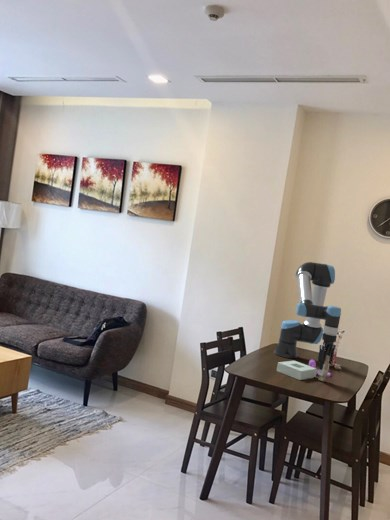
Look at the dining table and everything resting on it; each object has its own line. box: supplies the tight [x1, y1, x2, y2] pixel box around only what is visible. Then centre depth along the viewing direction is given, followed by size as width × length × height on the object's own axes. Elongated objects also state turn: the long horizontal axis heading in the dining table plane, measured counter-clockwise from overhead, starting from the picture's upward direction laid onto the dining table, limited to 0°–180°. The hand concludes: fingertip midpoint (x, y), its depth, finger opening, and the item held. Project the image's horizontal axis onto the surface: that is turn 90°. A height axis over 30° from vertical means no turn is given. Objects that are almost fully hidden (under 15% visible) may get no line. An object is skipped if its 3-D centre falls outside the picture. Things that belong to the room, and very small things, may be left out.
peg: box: [318, 355, 330, 382], centre depth 268 cm, size 4×4×14 cm
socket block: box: [276, 360, 318, 381], centre depth 275 cm, size 16×16×5 cm
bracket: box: [308, 359, 331, 378], centre depth 284 cm, size 13×6×7 cm, turn 78°
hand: (322, 374), depth 268 cm, fingers closed on peg, 4 cm apart
